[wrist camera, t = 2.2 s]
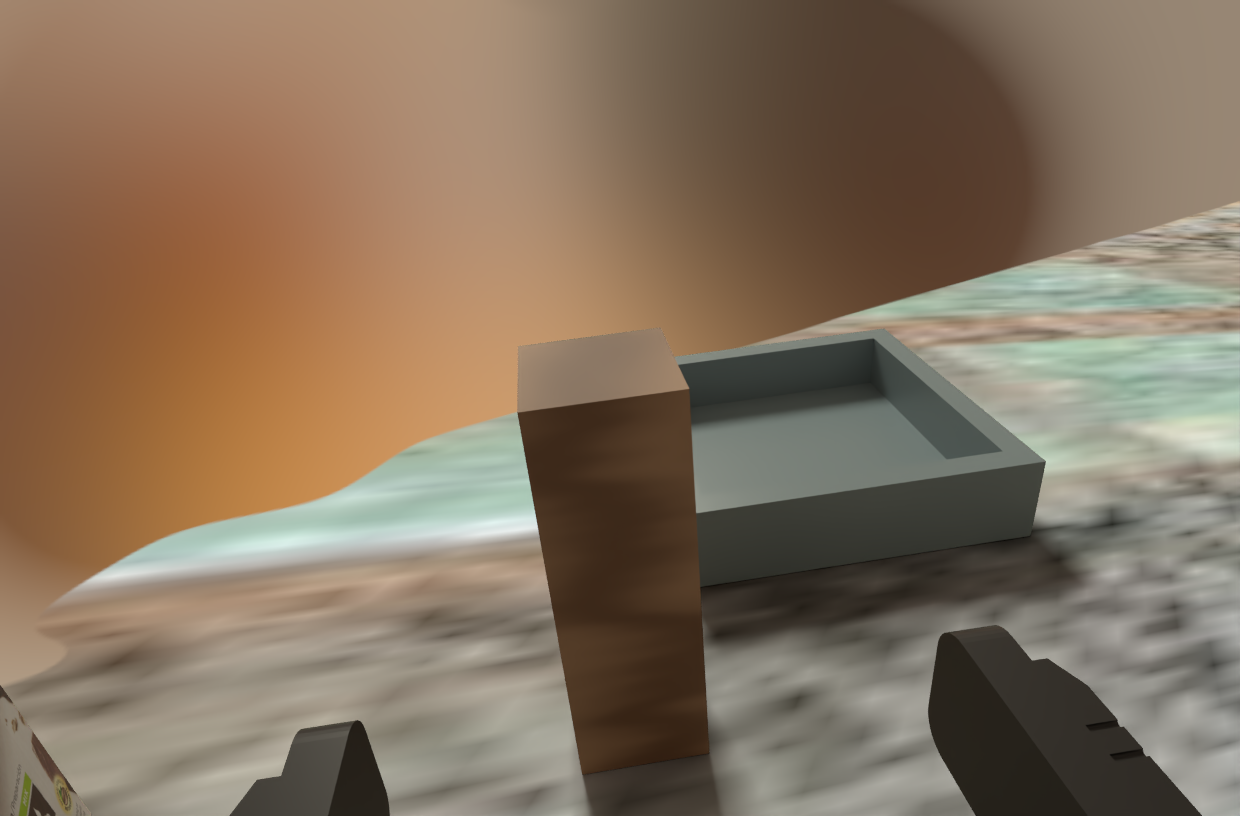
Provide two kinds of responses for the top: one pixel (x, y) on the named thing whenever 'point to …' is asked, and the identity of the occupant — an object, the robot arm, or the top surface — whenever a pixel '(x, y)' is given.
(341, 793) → the robot arm
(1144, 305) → the top surface
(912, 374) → the slate tray
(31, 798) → the coffee box
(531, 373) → the walnut block
